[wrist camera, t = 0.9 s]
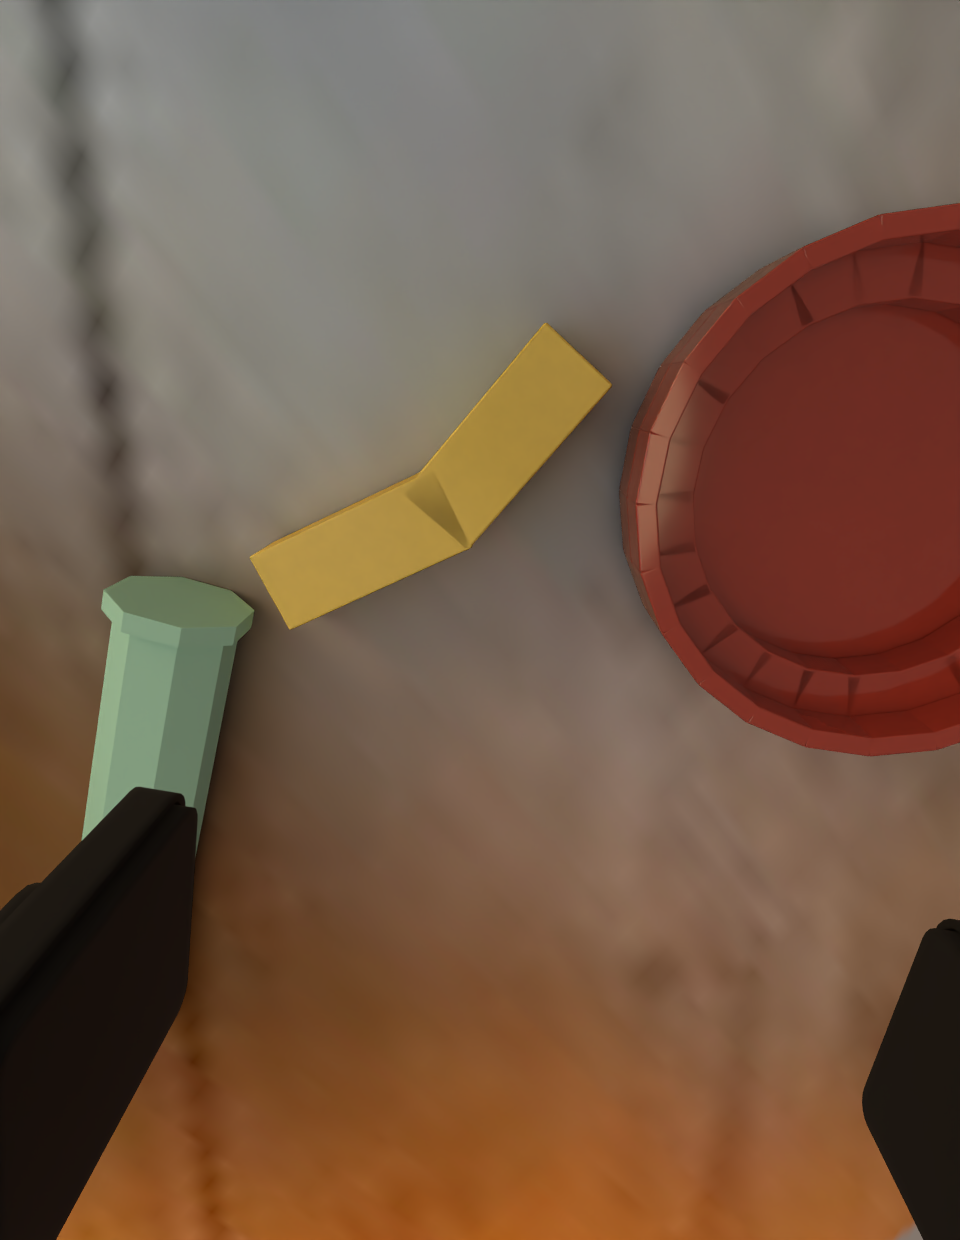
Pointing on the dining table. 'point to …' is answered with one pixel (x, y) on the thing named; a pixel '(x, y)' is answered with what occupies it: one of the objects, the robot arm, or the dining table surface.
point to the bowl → (814, 491)
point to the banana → (438, 488)
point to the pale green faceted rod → (163, 689)
